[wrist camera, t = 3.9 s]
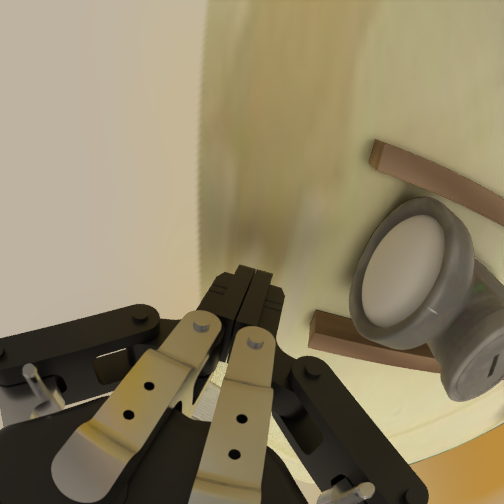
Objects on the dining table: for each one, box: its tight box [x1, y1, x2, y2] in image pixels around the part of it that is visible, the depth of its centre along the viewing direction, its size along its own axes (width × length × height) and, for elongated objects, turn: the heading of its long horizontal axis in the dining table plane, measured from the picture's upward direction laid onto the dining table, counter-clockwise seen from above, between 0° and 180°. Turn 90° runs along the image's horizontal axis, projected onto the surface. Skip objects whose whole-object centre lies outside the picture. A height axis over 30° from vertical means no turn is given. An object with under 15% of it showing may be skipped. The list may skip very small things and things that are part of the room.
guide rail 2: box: [308, 310, 504, 380], centre depth 19 cm, size 2×23×2 cm, turn 78°
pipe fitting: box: [349, 197, 504, 402], centre depth 13 cm, size 12×8×10 cm
